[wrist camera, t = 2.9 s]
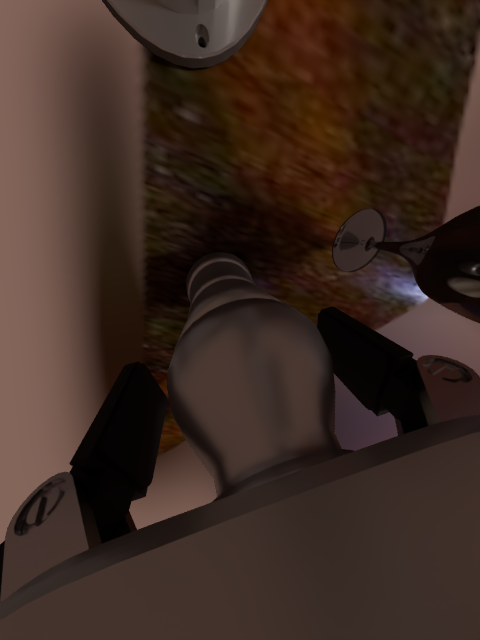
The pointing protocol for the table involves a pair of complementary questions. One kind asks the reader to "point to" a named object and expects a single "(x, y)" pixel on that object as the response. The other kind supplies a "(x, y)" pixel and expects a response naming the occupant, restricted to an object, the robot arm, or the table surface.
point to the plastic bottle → (250, 381)
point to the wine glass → (422, 256)
